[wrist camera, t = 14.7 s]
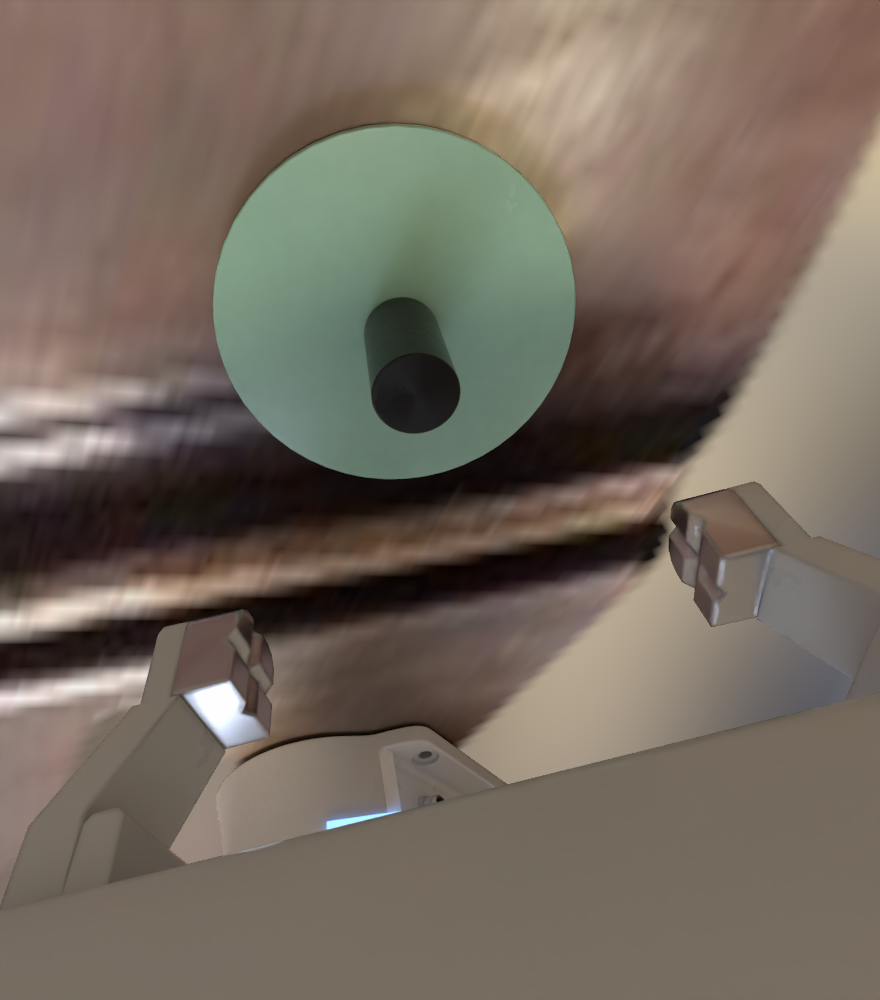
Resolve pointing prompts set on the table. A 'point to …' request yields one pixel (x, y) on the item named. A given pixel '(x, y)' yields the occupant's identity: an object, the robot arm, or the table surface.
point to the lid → (393, 301)
